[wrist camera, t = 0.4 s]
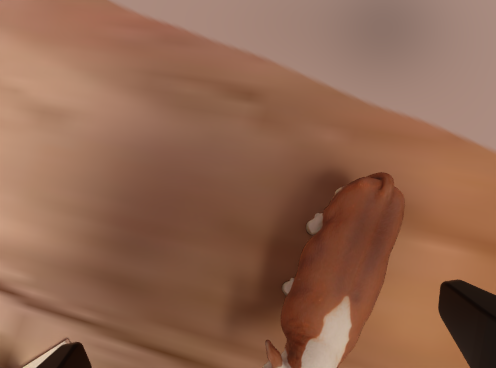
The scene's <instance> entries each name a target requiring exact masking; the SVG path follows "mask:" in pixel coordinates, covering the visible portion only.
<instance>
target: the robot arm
mask: <svg viewBox="0 0 496 368" xmlns="http://www.w3.org/2000/svg"><path fill="white" fill-rule="evenodd" d="M438 308H439V313H440V316H441V318H442V320H443V322H444V323H445V325H446V327H447V328H448V330H449V332H450V334H451V335H452V337H453V339H454V340H455V342H456V344H457V346H458V347H459V349H460V351H461V352H462V354H463V356H464V358H465V359H466V361H467V363H468V365H469V366H470V368H496V295H494V294H492V293H489V292H487V291H485V290H482V289H480V288H478V287H476V286H473V285H471V284H469V283H467V282H464V281H462V280H451V281H445V282H443V283H442V284H441V287H440V296H439V306H438ZM36 368H92V367H91V363H90V361H89V359H88V356H87V354H86V352H85V349H84V347H83V345H82V344H81V343H80V342H73V343H67V344H63V345H61V346H60V347H59V348H57V349H56V350H55V351H54V352H53V353H52V354H51V355H50V356H48V357H47V358H46V359H45V360H44V361H43V362H42V363H41V364H40V365H38V366H37V367H36Z"/></svg>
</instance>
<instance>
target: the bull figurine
mask: <svg viewBox="0 0 496 368" xmlns="http://www.w3.org/2000/svg"><path fill="white" fill-rule="evenodd" d="M404 203H405V201H404V196H403V194H402V193H401V191H399V189H397V188H396V187H394V181H393V178H392V176H391V175H389V174H387V173H382V172H380V173H375V174H372V175H369V176H367V177H362V178H359V179H357V180H355V181H353V182H351V183H350V184H348V185H345V186H342V187H340V188H339V189H337V190H336V191H335V195H334V196H333V198H332V199H331V201H330V203H329V206H328V207H326V208H325V209H324V211H323V213H316V214H315V217H314V219H312V220H311V221H309V222H308V223H307V225H306V230H307V232H308V233H309V234H311V235H314V236H313V237H312V238H311V239H310V240H309V241H308V242H307V244H306V245H305V247H304V249H303V251H302V254H301V257H300V261H299V265H298V271H297V274H296V277H295V278H291V279H290V281H288V282H285V283H284V284H283V286H282V291H283V293H284V294H285V295H287V296H286V298H285V302H284V305H283V308H282V313H281V327H282V330H283V332H284V334H285V336H286V338H287V343H286V345H285V350H284V352H283V353H282V354H281V355H280V353H279V352H278V351H277V349H276V348H275V347H274V346H273V345H272V343H271V342H270V341H269V340H266V342H265V345H266V351H267V356H268V359H269V361H268V362H267V363H266V364H264V366H263V367H262V368H338V366H339V364H340V363H341V362H342V361H343V360H344V359H345V358H346V356H347V355H348V354H349V353H350V352H351V351H352V349H353V348H354V346H355V344H356V342H357V340H358V338H359V336H360V333H361V330H362V328H363V326H364V324H365V322H366V321H367V319H368V318H369V316H370V314H371V312H372V310H373V307H374V305H375V302H376V300H377V297H378V295H379V293H380V290H381V288H382V285H383V282H384V278H385V274H386V269H387V265H388V260H389V256H390V253H391V251H392V249H393V246H394V244H395V241H396V239H397V236H398V233H399V230H400V227H401V224H402V220H403V215H404Z"/></svg>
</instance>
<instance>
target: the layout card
mask: <svg viewBox="0 0 496 368" xmlns="http://www.w3.org/2000/svg"><path fill="white" fill-rule="evenodd" d="M67 343H70V342H69V340H68V339H67V340H65V341H64V342H62V343H61V344H59V345H57V346H56V347H54V348H53V349H51V350H49V351H48V352H46V353H45V354H43V355H42V356H40V357H38V358H37V359H35V360H34V361H32V362H30V363H29V364H27V365H26V366H24V367H22V368H36V367H37V366H38V365H40V364H41V363H42V362H43V361H44V360H45V359H46V358H47V357H48V356H50V355H51V354H52V353H53V352H54V351H55V350H56V349H57V348H59V347H60V346H61V345H63V344H67Z"/></svg>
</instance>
